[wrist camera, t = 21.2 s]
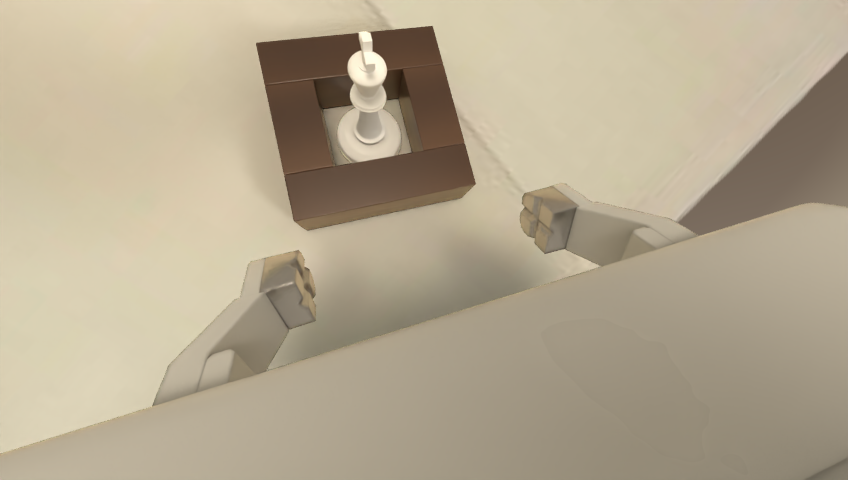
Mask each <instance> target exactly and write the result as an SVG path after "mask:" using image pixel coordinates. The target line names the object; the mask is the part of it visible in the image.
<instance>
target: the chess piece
mask: <svg viewBox="0 0 848 480" xmlns="http://www.w3.org/2000/svg"><path fill="white" fill-rule="evenodd" d="M359 41H360V45H361V50H362V51H358V52H356V53H355V54H353V55H352V56H351V58H350V59H349V61H348V73H349V76H350V78H351V79H352V81H353V82H354V84H353V86H352V88H351V90H350V99H351V102H352V104H353V105H354V106H355V108H353V109H351V110H349V111H348V112H347V113H346V114H345V115H344V116H343V117H342V118H341V120H340V122H339V125H338V128H337V143H338V147H339V149H340V151H341V153H342V154H343V156H344V157H345V158H346V159H347V160H348V161H349V162H351V163H357V162H362V161H368V160H374V159H379V158H385V157H391V156H396V155H398V153H399V151H400V148H401V143H402V138H401V131H400V127H399V125H398V123H397V121H396V120H395V118H394V117H393V116H392V115H391V114H390V113H389V112H387V111H386V110H384V109H382V108H383V106H384V105H385V103H386V92H385V90H384V88H383V86H382V83H383V82H384V80H385V78H386V75H387V67H386V64H385V61H384V60H383V59H382V57H381V56H380V55H378V54H377V53H375V52H372V37H371V33H368V31H364V32H359Z"/></svg>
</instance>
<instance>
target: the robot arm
mask: <svg viewBox="0 0 848 480" xmlns="http://www.w3.org/2000/svg"><path fill="white" fill-rule="evenodd" d="M522 204H523V205H524V207H525V208H524V209H523V210H522V212H521V213H520V223H521V227H522V229H523V231H524V233H525V234H526V235H527V236H529V237H532V238H535V241H534V243H535V244H536V245H537V246H538V247H539V248H540V250H541V251H542V252H543V253H544V254H547V253H550V252H554V251H558V250H562V249H565V250H568V251H570V252H572V253H574V254H576V255H578V256H581V257H583V258H585V259H587V260H589V261H591V262H594V263H596V264H598V265H600V266H602V267H599V268H595V269H592V270H589V271H586V272H583V273H580V274H576V275H573V276H570V277H567V278H563V279H560V280H557V281H554V282H550V283H547V284H544V285H541V286H538V287H534V288H531V289H528V290H525V291H521V292H518V293H515V294H512V295H508V296H505V297H502V298H499V299H496V300H492V301H489V302H486V303H483V304H480V305H476V306H473V307H470V308H467V309H464V310H460V311H457V312H454V313H451V314H448V315H444V316H441V317H438V318H435V319H432V320H428V321H425V322H422V323H419V324H416V325H412V326H409V327H406V328H403V329H400V330H396V331H393V332H390V333H387V334H384V335H380V336H377V337H374V338H371V339H367V340H364V341H361V342H358V343H355V344H351V345H348V346H345V347H342V348H339V349H335V350H332V351H329V352H326V353H323V354H319V355H316V356H313V357H310V358H306V359H303V360H300V361H297V362H294V363H290V364H287V365H284V366H281V367H278V368H274V369H271V370H268V371H266V370H267V368H268V366H269V364H270V363H271V361H272V359H273V358H274V356H275V354H276V353H277V351H278V349H279V348H280V346H281V344H282V343H283V341H284V339H285V338H286V336H287V334H288V333H289V329H292V328H296V327H299V326H302V325H305V324H308V323H311V322H314V321H316V305H315V303H314V301H313V298H314V297H315V285H314V280H313V277H312V274H311V272H310V270H309V269H308V268H306V267H304V261H305V259H304V257H303V255H302V253H301V252H300V251H299V250H297V251H293V252H288V253H284V254H280V255H275V256H271V257H267V258H263V259H259V260H255V261H251V262H250V263H249V264H248V267H247V271H246V275H245V279H244V283H243V287H242V291H241V295H240V298H238V299H235V300H234V301H233V302H232V303H231V304H230V305H229V306H228V307H227V308H226V309H225V310H224V311H223V312H222V313H221V314H220V315H219V316H218V317H217V318H216V319H215V320H214V321H213V322H212V323H211V324H210V325H209V326H208V327H207V328H206V329H205V330H204V331H203V332H202V333H201V334H200V335H199V336H198V337H197V338H196V339H195V340H194V341H192V342H191V343H190V344H189V345H188V346H187V347H186V348H185V349H184V350H183V351H182V352H181V353H180V354H179V355H178V356H177V357H176V358H175V359H174V360H173V361H172V362H171V363H170V364H169V365H168V368H167V370H166V373H165V375H164V378H163V380H162V383H161V385H160V388H159V390H158V393H157V395H156V398H155V400H154V403H153V405H152V407H149V408H146V409H143V410H139V411H136V412H133V413H130V414H127V415H123V416H120V417H117V418H114V419H110V420H107V421H104V422H101V423H98V424H94V425H91V426H88V427H85V428H82V429H78V430H75V431H72V432H69V433H65V434H62V435H59V436H56V437H53V438H49V439H46V440H43V441H40V442H36V443H33V444H30V445H27V446H24V447H20V448H17V449H14V450H11V451H7V452H4V453H1V454H0V480H848V207H845V206H838V205H831V204H822V203H807V204H802V205H797V206H794V207H791V208H788V209H784V210H781V211H778V212H775V213H772V214H769V215H765V216H762V217H759V218H756V219H753V220H750V221H746V222H743V223H740V224H736V225H733V226H730V227H727V228H724V229H720V230H717V231H714V232H711V233H708V234H705V235H701V236H699V235H697V234H695V233H694V232H692V231H690V230H689V229H687V228H685V227H684V226H682V225H680V224H678V223H677V222H675V221H673V220H672V219H670V218H665V217H661V216H657V215H652V214H648V213H644V212H639V211H635V210H630V209H626V208H622V207H617V206H613V205H609V204H604V203H600V202H594V203H593V202H591V201H590V200H588V199H587V198H586V197H584V196H583V195H581V194H580V193H578V192H577V191H575V190H574V189H572V188H571V187H569V186H568V185H567V184H564V183H559V184H556V185H552V186H549V187H547V188H543V189H539V190H535V191H531V192H528V193H525V194H524V196H523V198H522Z"/></svg>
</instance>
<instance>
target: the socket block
mask: <svg viewBox="0 0 848 480" xmlns="http://www.w3.org/2000/svg"><path fill="white" fill-rule="evenodd" d="M368 33H371V37H372V52H375V53H377V54H378V55H380V56H381V57H382V59H383V60H384V61H385V64H386V67H387V75H386V78H385V80H384V82H383V83H382V86H383V88H384V90H385V92H386V100H387V99H395V98H399V102H400V106H401V110H402V114H403V118H404V122H405V126H406V130H407V134H408V137H409V141H410V145H411V149H412V153H408V154H402V155H396V156H391V157H385V158H379V159H374V160H368V161H362V162H357V163H351V164H345V165H340V166H335V163H334V158H333V154H332V150H331V145H330V141H329V137H328V132H327V128H326V124H325V119H324V115H323V111H322V109H323V108H330V107H337V106H344V105H352V102H351V99H350V90H351V88H352V86H353V84H354V82H353V81H352V79H351V78H350V76H349V73H348V61H349V59H350V58H351V56H352V55H353V54H355V53H356V52H358V51H362V50H361V45H360V41H359V33H354V34H344V35H333V36H323V37H312V38H302V39H291V40H281V41H270V42H260V43H256V46H257V51H258V55H259V60H260V65H261V69H262V74H263V79H264V83H265V88H266V93H267V98H268V102H269V107H270V111H271V116H272V121H273V125H274V130H275V135H276V139H277V144H278V149H279V153H280V158H281V163H282V167H283V172H284V175H285V176H284V177H285V181H286V186H287V191H288V195H289V200H290V205H291V209H292V214H293V219H294V221H295V222H296V223H297V224H299V225H300V226H301V227H303V228H304V229H305V230H312V229H317V228H321V227H326V226H331V225H335V224H340V223H345V222H349V221H354V220H359V219H364V218H368V217H373V216H378V215H382V214H387V213H392V212H397V211H401V210H406V209H411V208H415V207H420V206H425V205H430V204H434V203H439V202H444V201H448V200H453V199H458V198H462V197H463V196H464V195H465V194H466V193H467V192H468V191H469V190H470V189H471V188H472V187H473V186H474V185H475V184H476V183H475V179H474V176H473V172H472V168H471V165H470V161H469V157H468V154H467V150H466V146H465V144H464V139H463V135H462V132H461V128H460V124H459V121H458V117H457V113H456V110H455V106H454V102H453V99H452V95H451V91H450V88H449V84H448V80H447V77H446V73H445V69H444V66H443V62H442V59H441V55H440V51H439V48H438V44H437V40H436V37H435V33H434V29H433V26H428V27H417V28H407V29H396V30H386V31H375V32H368Z"/></svg>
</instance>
